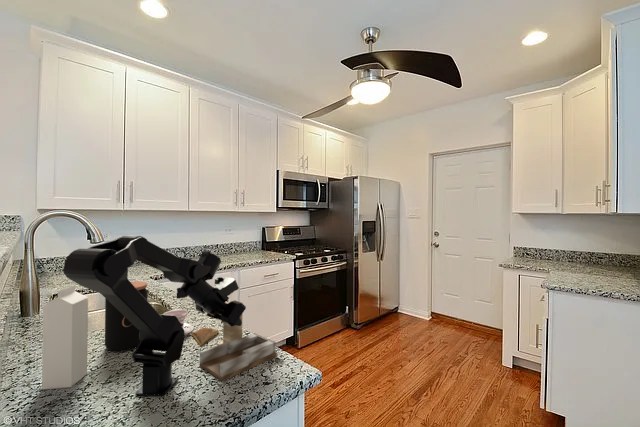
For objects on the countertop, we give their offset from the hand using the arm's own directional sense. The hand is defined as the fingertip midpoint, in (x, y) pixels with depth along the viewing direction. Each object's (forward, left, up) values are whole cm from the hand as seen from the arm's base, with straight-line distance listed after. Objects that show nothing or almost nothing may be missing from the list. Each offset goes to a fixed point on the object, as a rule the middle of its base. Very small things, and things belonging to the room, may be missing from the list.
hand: (236, 322), depth 91 cm
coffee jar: (-1, +33, -7) cm, 34 cm away
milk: (-21, +34, -7) cm, 41 cm away
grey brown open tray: (-10, -4, -7) cm, 13 cm away
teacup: (+10, +24, -7) cm, 27 cm away
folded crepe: (+5, +11, -7) cm, 14 cm away
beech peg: (-1, +1, -7) cm, 7 cm away
